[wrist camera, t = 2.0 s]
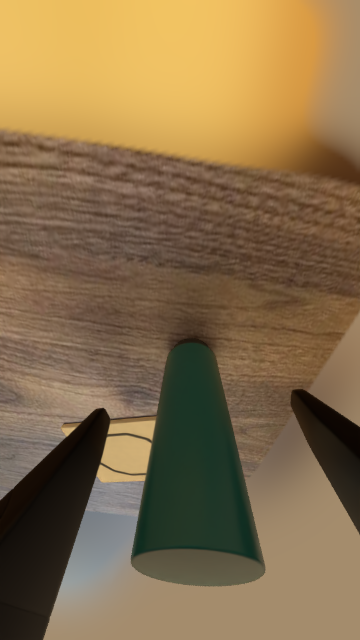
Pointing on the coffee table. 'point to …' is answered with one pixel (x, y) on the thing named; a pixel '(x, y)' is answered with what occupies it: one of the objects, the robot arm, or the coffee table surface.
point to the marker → (195, 483)
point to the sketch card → (124, 449)
